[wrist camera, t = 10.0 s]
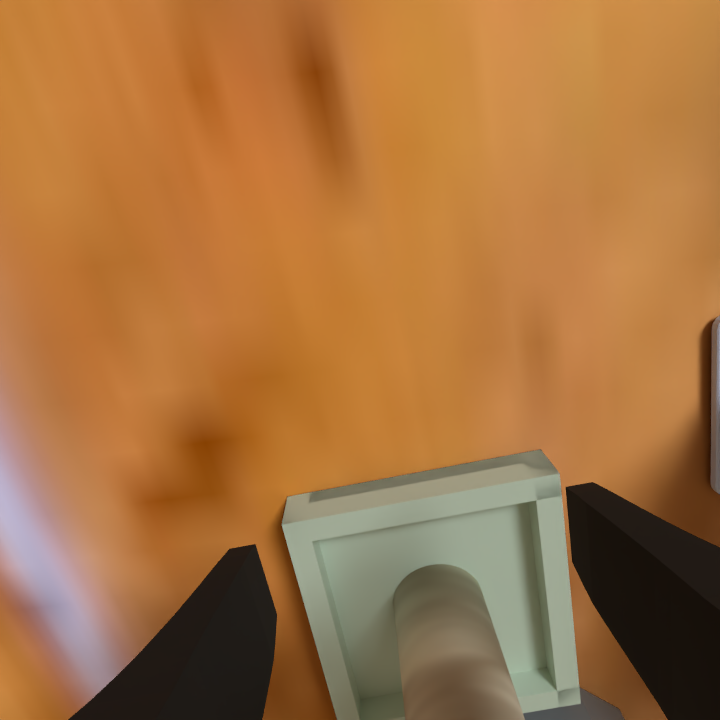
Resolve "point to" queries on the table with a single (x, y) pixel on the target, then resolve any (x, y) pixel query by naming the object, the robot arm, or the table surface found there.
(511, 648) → the tray
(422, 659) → the dowel
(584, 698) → the octagonal ring
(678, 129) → the table surface
